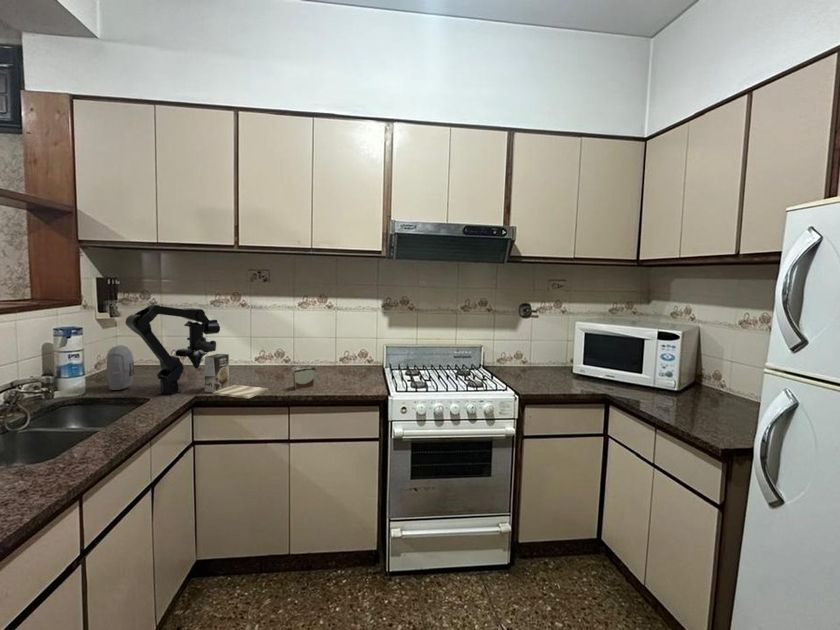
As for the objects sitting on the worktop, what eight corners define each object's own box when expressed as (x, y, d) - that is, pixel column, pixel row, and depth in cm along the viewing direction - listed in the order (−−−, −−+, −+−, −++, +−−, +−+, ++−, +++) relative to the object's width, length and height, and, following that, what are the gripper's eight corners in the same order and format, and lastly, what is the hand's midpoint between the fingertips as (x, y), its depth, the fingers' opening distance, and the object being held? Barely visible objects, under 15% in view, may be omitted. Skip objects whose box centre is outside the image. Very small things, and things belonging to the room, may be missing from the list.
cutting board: (213, 394, 187) (213, 392, 187) (234, 386, 200) (234, 384, 200) (248, 398, 182) (248, 396, 182) (267, 390, 196) (267, 388, 196)
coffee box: (216, 392, 190) (216, 357, 188) (204, 391, 191) (203, 356, 190) (229, 387, 199) (229, 354, 197) (217, 386, 200) (217, 353, 198)
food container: (309, 383, 210) (309, 364, 209) (316, 386, 206) (316, 366, 205) (286, 387, 201) (286, 367, 200) (292, 390, 197) (292, 369, 196)
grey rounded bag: (119, 384, 199) (118, 342, 197) (139, 383, 201) (138, 342, 199) (105, 393, 184) (103, 348, 182) (126, 392, 186) (125, 347, 185)
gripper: (195, 339, 185) (195, 374, 186) (225, 334, 203) (225, 366, 204) (174, 337, 188) (174, 371, 189) (205, 332, 206) (206, 364, 207)
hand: (196, 368), depth 197 cm, fingers closed
